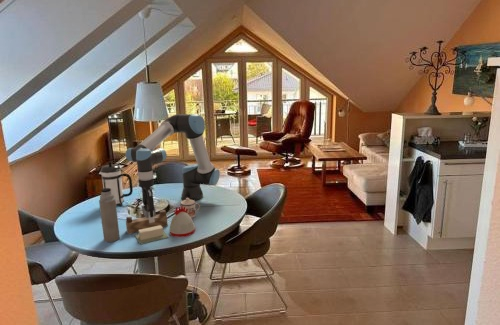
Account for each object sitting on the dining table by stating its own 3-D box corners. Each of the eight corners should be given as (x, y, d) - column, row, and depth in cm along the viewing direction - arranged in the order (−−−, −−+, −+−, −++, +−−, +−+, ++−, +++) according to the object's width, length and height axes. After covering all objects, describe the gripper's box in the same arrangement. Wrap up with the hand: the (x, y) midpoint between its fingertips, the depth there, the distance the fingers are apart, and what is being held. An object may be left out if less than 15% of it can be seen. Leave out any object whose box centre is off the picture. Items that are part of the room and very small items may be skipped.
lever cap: (151, 211, 202) (151, 201, 201) (156, 216, 195) (155, 206, 194) (142, 213, 200) (141, 203, 199) (146, 218, 193) (145, 208, 191)
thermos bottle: (107, 235, 204) (101, 186, 197) (122, 235, 203) (116, 186, 197) (101, 242, 196) (94, 191, 189) (116, 242, 196) (110, 191, 189)
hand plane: (165, 222, 219) (164, 209, 217) (167, 225, 215) (166, 211, 213) (126, 230, 209) (125, 216, 207) (128, 234, 205) (127, 219, 203)
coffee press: (112, 210, 242) (107, 165, 235) (98, 205, 252) (93, 162, 245) (134, 202, 256) (130, 160, 249) (121, 198, 265) (116, 157, 258)
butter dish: (162, 229, 209) (161, 222, 208) (168, 237, 199) (167, 229, 198) (135, 235, 202) (134, 228, 201) (139, 244, 192) (139, 236, 191)
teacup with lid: (184, 220, 223) (183, 201, 220) (179, 215, 230) (177, 197, 228) (202, 215, 228) (201, 197, 226) (197, 211, 236) (196, 194, 233)
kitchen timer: (165, 231, 208) (163, 205, 204) (187, 224, 216) (185, 200, 212) (176, 239, 197) (174, 212, 194) (199, 232, 205) (198, 206, 202)
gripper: (134, 175, 200) (138, 214, 206) (143, 184, 182) (147, 227, 187) (148, 173, 204) (151, 211, 209) (158, 182, 186) (162, 224, 191)
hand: (149, 219), depth 198 cm, fingers closed on lever cap, 8 cm apart
